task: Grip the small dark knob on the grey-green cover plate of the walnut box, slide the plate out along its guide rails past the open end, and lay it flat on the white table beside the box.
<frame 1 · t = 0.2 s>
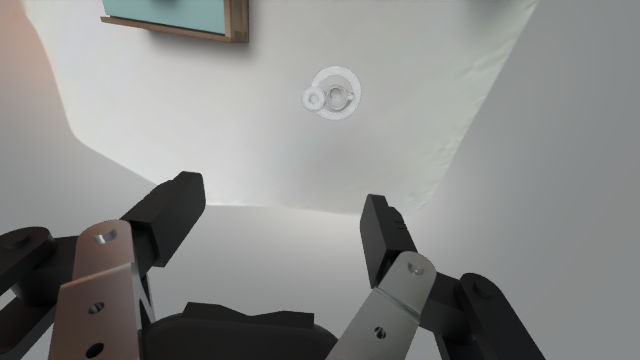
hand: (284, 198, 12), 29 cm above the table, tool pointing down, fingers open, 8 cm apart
teacup and saucer: (323, 76, 36), on the table
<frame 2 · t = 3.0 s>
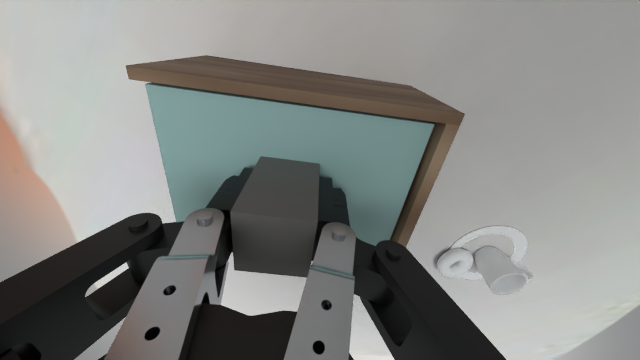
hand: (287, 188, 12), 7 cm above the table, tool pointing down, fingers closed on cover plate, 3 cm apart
box: (303, 139, 19), on the table
teacup and saucer: (470, 232, 24), on the table
cover plate: (290, 177, 13), point 6 cm above the table, touching box, gripper
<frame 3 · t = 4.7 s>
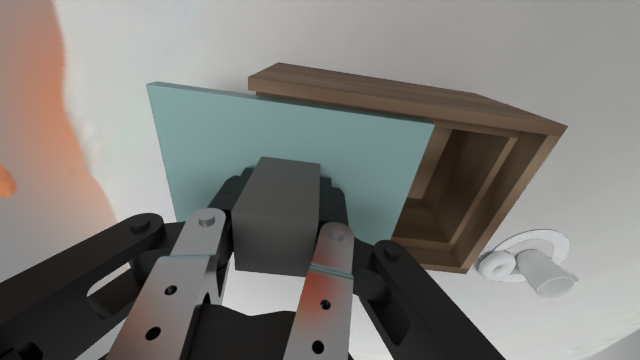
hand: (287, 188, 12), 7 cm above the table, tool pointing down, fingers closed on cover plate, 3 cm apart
box: (362, 145, 19), on the table
teacup and saucer: (513, 235, 24), on the table
cover plate: (290, 177, 13), point 6 cm above the table, touching gripper
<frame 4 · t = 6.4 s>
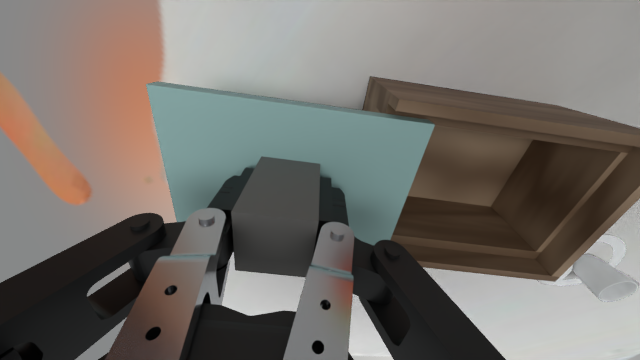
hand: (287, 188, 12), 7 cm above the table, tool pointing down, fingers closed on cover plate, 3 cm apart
box: (438, 154, 19), on the table
teacup and saucer: (569, 240, 25), on the table
cover plate: (290, 177, 13), point 6 cm above the table, touching gripper
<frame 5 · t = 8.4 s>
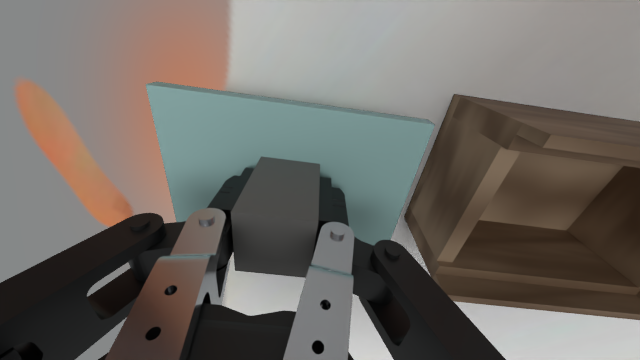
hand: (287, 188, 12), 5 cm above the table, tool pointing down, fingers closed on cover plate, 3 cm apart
box: (515, 176, 18), on the table
cover plate: (290, 177, 13), point 4 cm above the table, touching gripper
when the fingers open (2 cm above the table, at t = 9.6 s): cover plate drops 2 cm, on the table.
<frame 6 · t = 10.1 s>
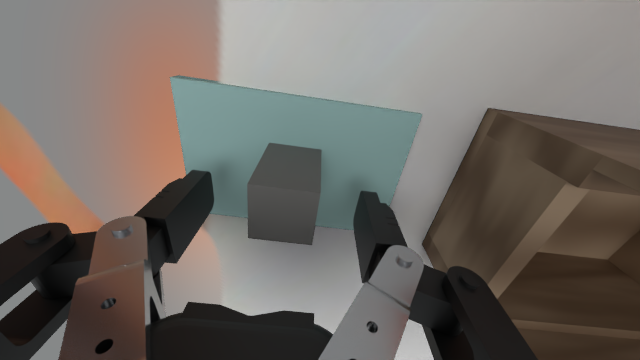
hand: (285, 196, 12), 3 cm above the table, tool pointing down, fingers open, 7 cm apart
box: (553, 200, 15), on the table
cover plate: (294, 163, 15), on the table
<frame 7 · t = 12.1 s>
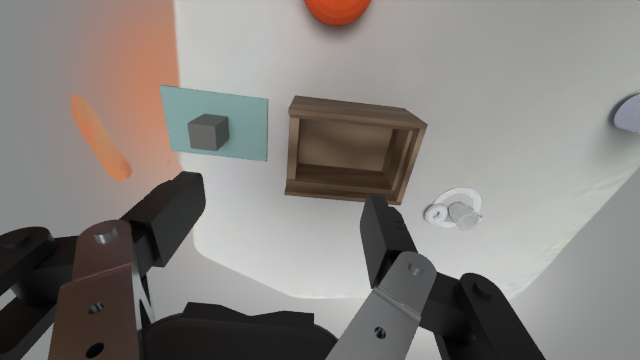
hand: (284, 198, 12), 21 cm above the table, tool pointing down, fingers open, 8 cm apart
perfume bottle: (626, 109, 31), on the table
box: (344, 139, 32), on the table
teacup and saucer: (445, 193, 38), on the table
cover plate: (219, 124, 32), on the table
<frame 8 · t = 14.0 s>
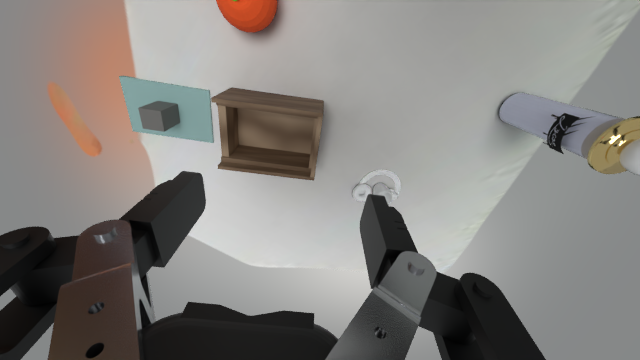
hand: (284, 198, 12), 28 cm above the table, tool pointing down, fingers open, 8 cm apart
perfume bottle: (511, 106, 37), on the table
box: (276, 126, 39), on the table
teacup and saucer: (370, 175, 44), on the table
cover plate: (172, 110, 38), on the table
clementine: (250, 1, 31), on the table
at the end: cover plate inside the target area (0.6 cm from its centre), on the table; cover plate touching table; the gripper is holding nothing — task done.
